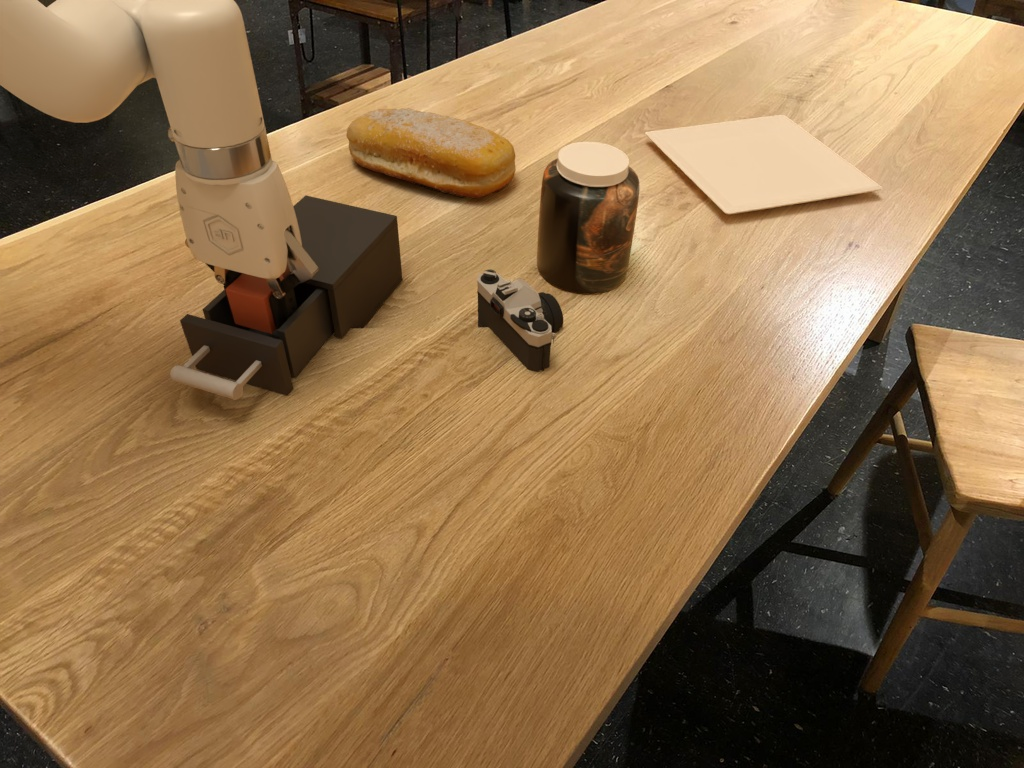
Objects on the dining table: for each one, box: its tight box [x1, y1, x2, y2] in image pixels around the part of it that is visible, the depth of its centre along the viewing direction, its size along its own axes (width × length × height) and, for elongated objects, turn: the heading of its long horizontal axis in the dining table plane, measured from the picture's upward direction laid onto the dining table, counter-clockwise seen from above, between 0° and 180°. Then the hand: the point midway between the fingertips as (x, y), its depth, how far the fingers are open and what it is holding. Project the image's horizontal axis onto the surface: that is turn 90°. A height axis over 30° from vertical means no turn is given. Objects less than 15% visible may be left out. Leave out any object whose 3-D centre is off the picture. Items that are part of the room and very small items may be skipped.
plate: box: [644, 114, 883, 216], centre depth 117 cm, size 26×26×2 cm
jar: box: [536, 141, 640, 295], centre depth 92 cm, size 12×12×15 cm
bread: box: [346, 107, 517, 199], centre depth 112 cm, size 13×26×8 cm, turn 64°
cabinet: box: [290, 195, 403, 340], centre depth 88 cm, size 15×12×9 cm
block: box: [225, 273, 284, 334], centre depth 77 cm, size 4×4×4 cm
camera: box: [476, 269, 564, 373], centre depth 84 cm, size 13×8×9 cm, turn 34°
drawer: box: [169, 283, 335, 401], centre depth 79 cm, size 18×11×7 cm, turn 160°
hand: (265, 314), depth 79 cm, fingers closed on block, 4 cm apart
